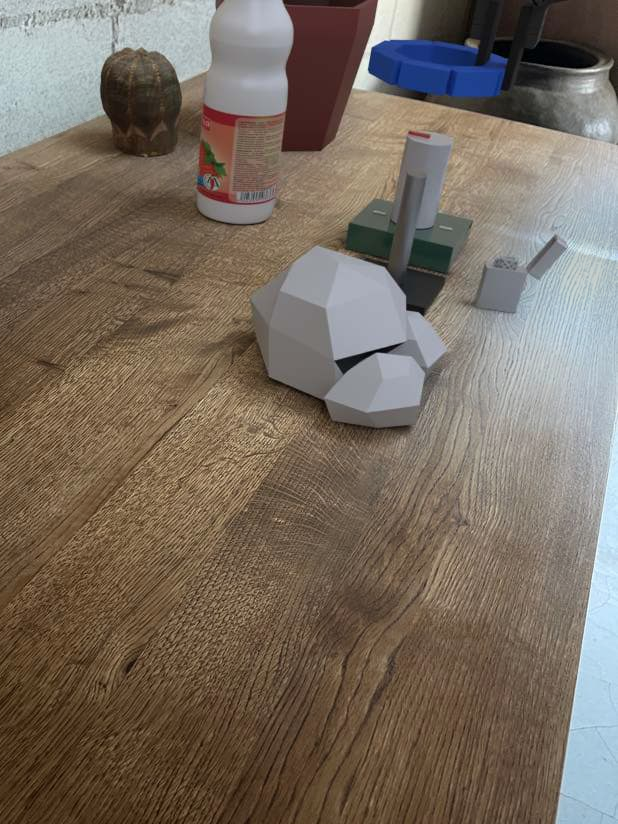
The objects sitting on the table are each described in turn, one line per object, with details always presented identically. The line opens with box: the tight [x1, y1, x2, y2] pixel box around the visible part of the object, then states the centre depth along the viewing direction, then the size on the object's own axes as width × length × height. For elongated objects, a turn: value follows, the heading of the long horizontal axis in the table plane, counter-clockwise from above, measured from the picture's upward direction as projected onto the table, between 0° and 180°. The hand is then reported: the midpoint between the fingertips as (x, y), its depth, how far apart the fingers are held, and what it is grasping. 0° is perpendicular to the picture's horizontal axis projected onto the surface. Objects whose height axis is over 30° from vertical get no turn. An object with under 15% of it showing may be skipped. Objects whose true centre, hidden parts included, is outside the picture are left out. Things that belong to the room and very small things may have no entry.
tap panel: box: [344, 197, 474, 274], centre depth 105 cm, size 12×10×3 cm
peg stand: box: [362, 170, 447, 317], centre depth 93 cm, size 9×9×12 cm
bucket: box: [214, 0, 379, 152], centre depth 129 cm, size 24×22×25 cm
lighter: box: [473, 234, 569, 314], centre depth 93 cm, size 7×2×8 cm, turn 80°
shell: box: [99, 46, 183, 158], centre depth 124 cm, size 11×11×12 cm
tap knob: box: [391, 129, 455, 229], centre depth 102 cm, size 5×5×9 cm
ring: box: [367, 39, 508, 98], centre depth 83 cm, size 12×12×2 cm
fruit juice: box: [195, 0, 294, 225], centre depth 102 cm, size 9×9×28 cm
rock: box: [249, 245, 449, 429], centre depth 78 cm, size 18×20×10 cm
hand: (492, 84), depth 82 cm, fingers closed on ring, 2 cm apart
